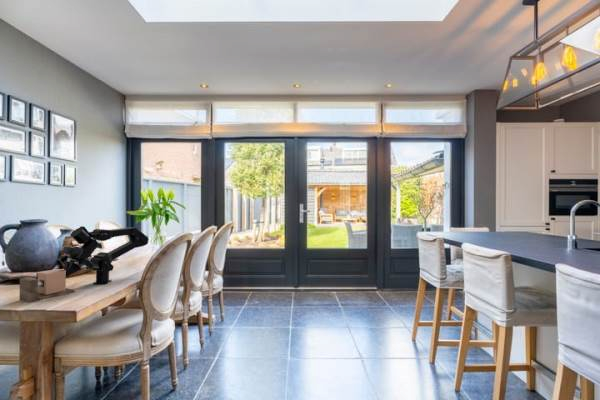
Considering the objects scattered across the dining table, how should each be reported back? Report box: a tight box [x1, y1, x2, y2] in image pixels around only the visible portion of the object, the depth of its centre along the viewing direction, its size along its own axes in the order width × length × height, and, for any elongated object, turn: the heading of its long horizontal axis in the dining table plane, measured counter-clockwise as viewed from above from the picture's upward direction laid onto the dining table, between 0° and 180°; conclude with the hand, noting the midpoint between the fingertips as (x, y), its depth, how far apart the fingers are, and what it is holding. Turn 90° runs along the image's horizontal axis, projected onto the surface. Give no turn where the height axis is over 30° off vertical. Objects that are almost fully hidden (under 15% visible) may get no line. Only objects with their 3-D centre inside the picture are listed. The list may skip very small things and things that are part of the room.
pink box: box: [37, 268, 67, 295], centre depth 148 cm, size 8×6×9 cm
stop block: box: [19, 276, 75, 303], centre depth 147 cm, size 18×9×9 cm, turn 157°
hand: (62, 277), depth 152 cm, fingers closed, pressing on pink box
